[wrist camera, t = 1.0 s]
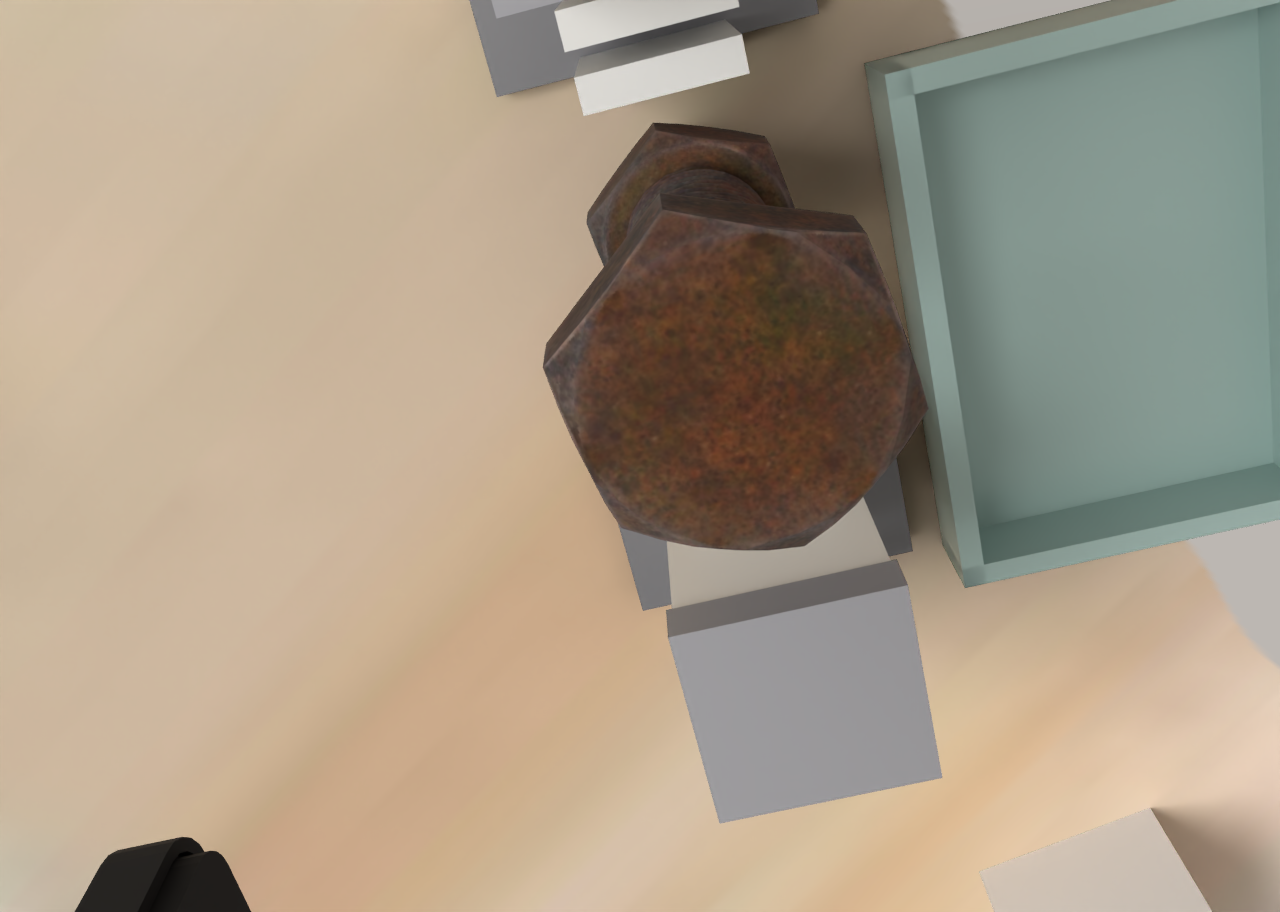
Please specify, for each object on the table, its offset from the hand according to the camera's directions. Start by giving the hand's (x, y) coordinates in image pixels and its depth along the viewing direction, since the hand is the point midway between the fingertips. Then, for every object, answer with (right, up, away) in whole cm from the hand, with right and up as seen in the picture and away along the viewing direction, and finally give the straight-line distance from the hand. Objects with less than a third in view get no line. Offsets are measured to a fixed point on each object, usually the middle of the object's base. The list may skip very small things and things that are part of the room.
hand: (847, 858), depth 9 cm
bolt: (0, +10, +22) cm, 25 cm away
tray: (+11, +8, +23) cm, 27 cm away
